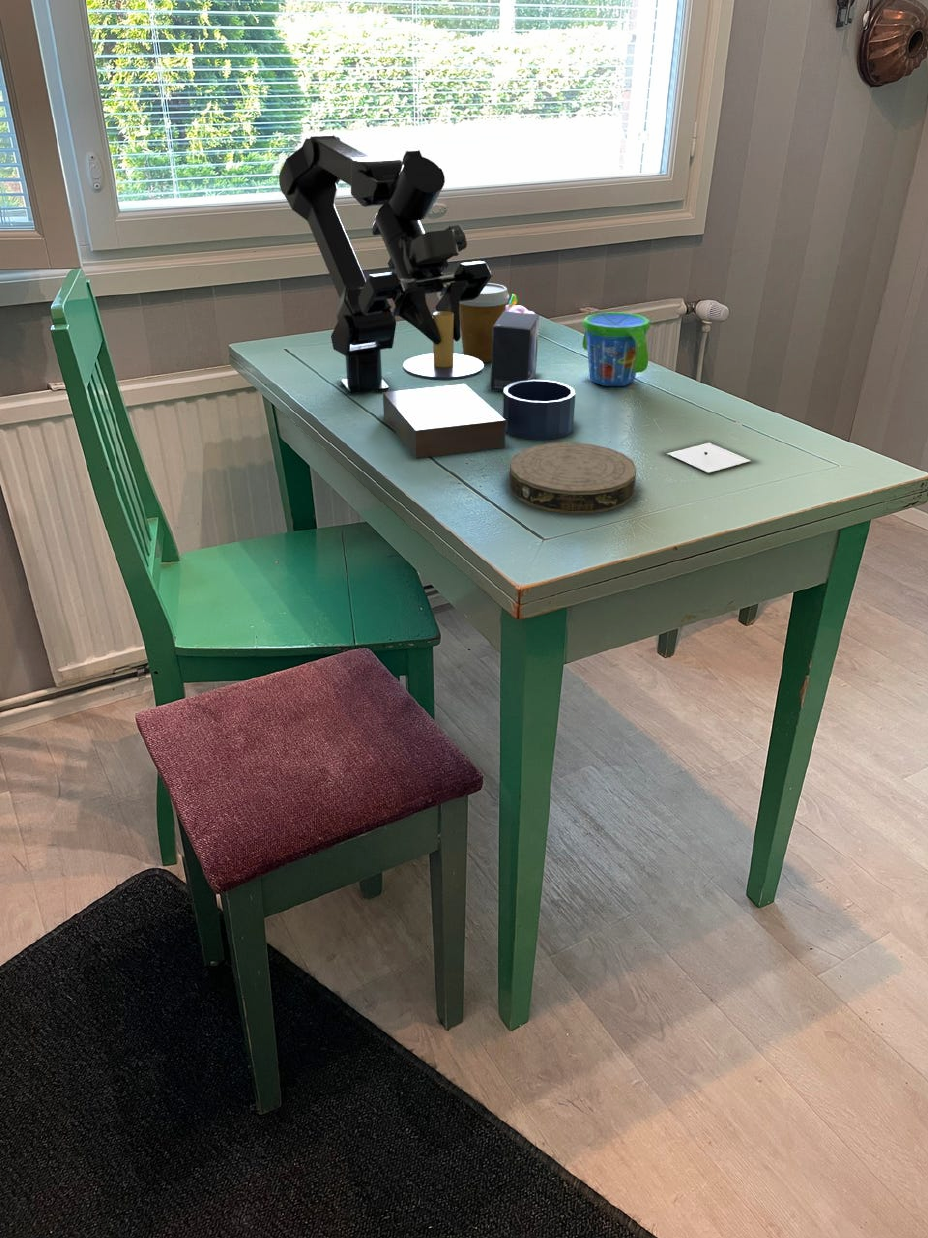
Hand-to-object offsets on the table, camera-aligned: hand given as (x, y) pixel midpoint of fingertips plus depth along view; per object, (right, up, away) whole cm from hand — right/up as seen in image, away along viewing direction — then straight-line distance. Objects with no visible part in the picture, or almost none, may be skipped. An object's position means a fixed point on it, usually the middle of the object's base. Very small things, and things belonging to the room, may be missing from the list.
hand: (448, 341), depth 128 cm
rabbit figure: (+13, +21, +60) cm, 65 cm away
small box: (+10, +1, +28) cm, 30 cm away
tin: (+13, -10, +10) cm, 19 cm away
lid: (-1, -3, +3) cm, 4 cm away
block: (-1, -11, +8) cm, 14 cm away
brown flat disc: (+16, -21, -8) cm, 28 cm away
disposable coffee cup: (+5, +9, +41) cm, 42 cm away
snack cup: (+27, +2, +29) cm, 40 cm away
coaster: (+36, -16, 0) cm, 39 cm away
